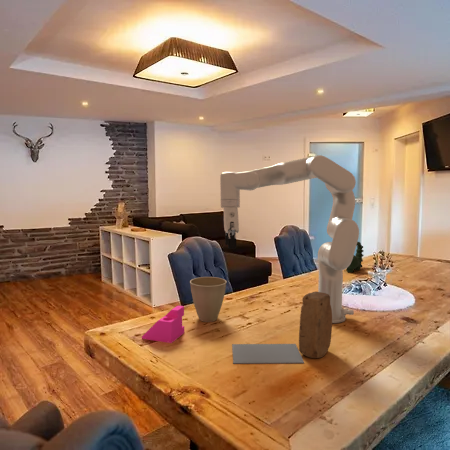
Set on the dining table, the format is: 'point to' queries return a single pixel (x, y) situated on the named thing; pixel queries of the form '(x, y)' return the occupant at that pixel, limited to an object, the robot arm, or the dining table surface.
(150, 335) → the bracket
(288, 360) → the mat
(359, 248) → the toy figurine
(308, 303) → the block
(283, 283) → the dining table surface
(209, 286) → the plant pot
